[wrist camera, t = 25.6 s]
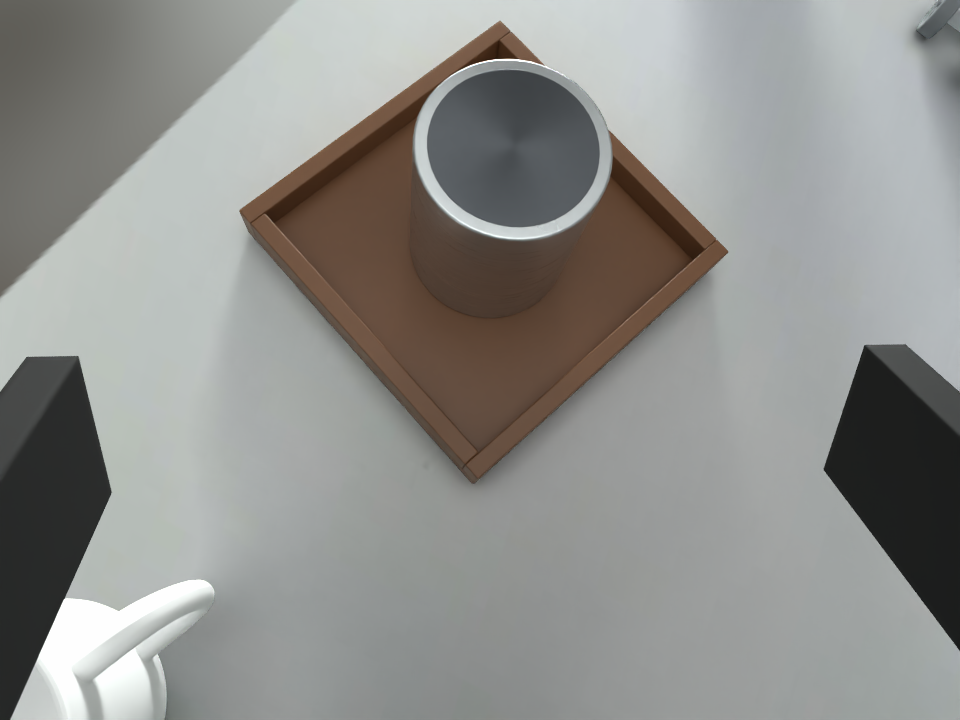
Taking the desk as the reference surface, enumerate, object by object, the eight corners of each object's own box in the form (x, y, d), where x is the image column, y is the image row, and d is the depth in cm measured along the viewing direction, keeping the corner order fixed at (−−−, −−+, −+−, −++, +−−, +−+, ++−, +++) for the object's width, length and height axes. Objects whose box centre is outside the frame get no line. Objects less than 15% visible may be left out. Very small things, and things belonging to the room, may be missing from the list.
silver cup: (377, 235, 37) (370, 131, 28) (492, 146, 38) (519, 22, 30) (482, 350, 36) (508, 280, 27) (595, 253, 38) (654, 158, 29)
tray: (248, 231, 37) (238, 210, 35) (494, 49, 41) (500, 19, 38) (473, 484, 35) (478, 479, 33) (710, 269, 39) (729, 251, 37)
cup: (-90, 686, 31) (-315, 740, 21) (182, 501, 34) (94, 474, 24) (18, 874, 30) (-168, 1024, 20) (292, 667, 33) (246, 711, 23)
